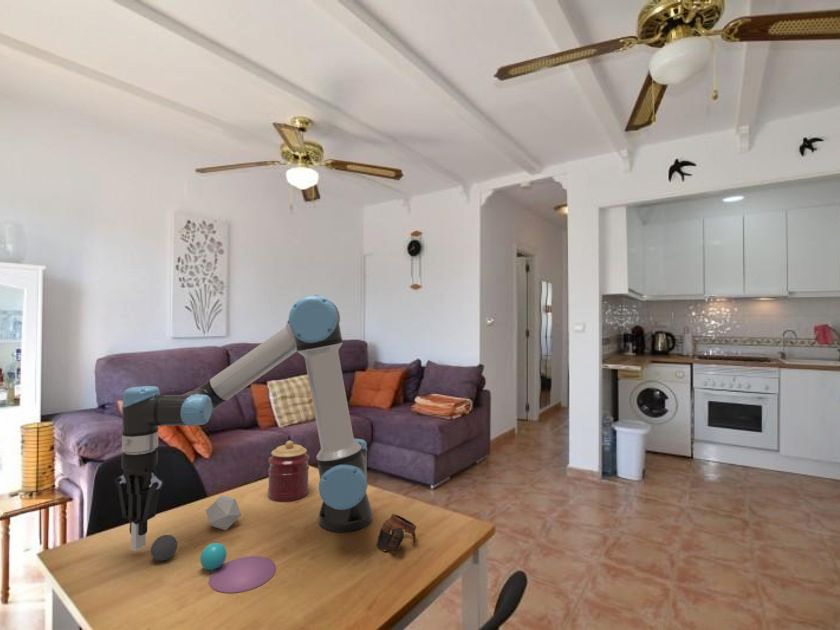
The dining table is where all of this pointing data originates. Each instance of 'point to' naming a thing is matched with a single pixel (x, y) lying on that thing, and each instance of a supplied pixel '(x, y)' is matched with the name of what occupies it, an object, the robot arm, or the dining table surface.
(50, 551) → the dining table surface
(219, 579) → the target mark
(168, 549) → the dark grey ellipsoid
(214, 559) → the object ball
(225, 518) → the die
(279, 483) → the canister
